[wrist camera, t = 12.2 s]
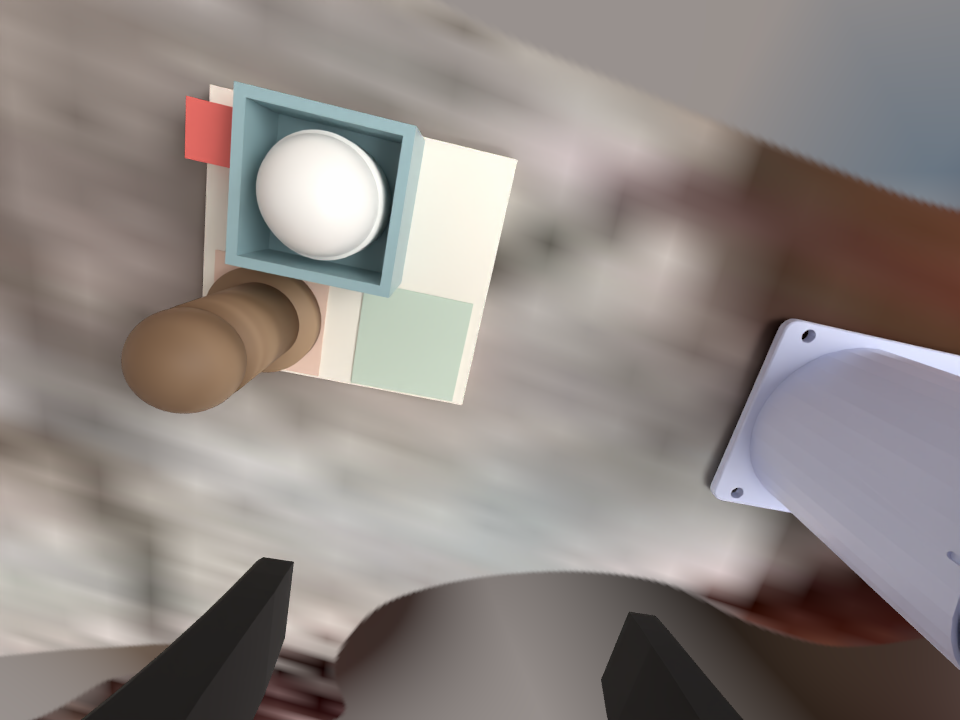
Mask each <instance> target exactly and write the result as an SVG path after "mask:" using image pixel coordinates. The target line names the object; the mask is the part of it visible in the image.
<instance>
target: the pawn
mask: <svg viewBox="0 0 960 720" xmlns="http://www.w3.org/2000/svg"><path fill="white" fill-rule="evenodd" d="M320 330H321V312H320V307H319V305H318V302H317V299H316V297H315V295H314V294H313V292H312V291H311V289H310V288H309V287H308V285H307V284H306V283H305V282H304V281H303V280H300V279H295V278H290V277H285V276H281V275H276V274H271V273H266V272H262V271H257V270H252V269H247V268H242V267H241V268H237V269H234V270H232V271H229V272H227V273H226V274H224V275H222V276H221V277H220V278H219V279H217V280H216V282H215V283H214V284H213V285H212V286H211V288H210V289H209V291H208V294H207V296H205V297H202V298H199V299H196V300H193V301H190V302H187V303H184V304H181V305H178V306H175V307H172V308H170V309H167V310H163V311H160V312H157V313H155V314H153V315H151V316H149V317H147V318H146V319H144V320H143V321H142V322H140V323H139V324H138V325H137V326H136V327H135V328H134V329H133V330H132V332H131V333H130V334H129V336H128V337H127V339H126V342H125V344H124V346H123V350H122V357H121V364H122V371H123V374H124V377H125V380H126V382H127V384H128V385H129V387H130V388H131V389H132V391H133V392H134V393H135V394H136V395H137V396H138V397H139V398H140V399H142V400H143V401H144V402H146V403H147V404H149V405H151V406H153V407H155V408H158V409H161V410H164V411H167V412H172V413H196V412H201V411H205V410H208V409H210V408H213V407H215V406H217V405H219V404H221V403H222V402H224V401H225V400H226V399H228V398H229V397H230V396H231V395H232V394H233V393H235V392H236V391H238V390H239V389H240V388H242V387H243V386H244V385H245V384H247V383H248V382H249V381H250V380H252V379H253V378H254V377H255V376H257V375H258V374H259V373H260V372H276V371H280V370H284V369H286V368H289V367H291V366H292V365H294V364H296V363H297V362H298V361H299V360H301V359H302V358H303V357H304V356H305V355H306V354H307V353H308V352H309V351H310V350H311V349H312V348H313V346H314V345H315V343H316V341H317V339H318V337H319V334H320Z"/></svg>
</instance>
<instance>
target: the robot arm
mask: <svg viewBox="0 0 960 720" xmlns="http://www.w3.org/2000/svg"><path fill="white" fill-rule="evenodd" d="M807 330H808V335H807V337H806V338H805V339H803V340H802V335H803V333H804V332H805V331H807ZM735 488H738V489H737V490H736V491H735V492H733V493H731V492H732V490H733V489H735ZM710 489H711V492H712V493H713V495H714V496H715V497H716V498H717V499H719V500H722V501H728V502H734V503H739V504H745V505H750V506H756V507H762V508H767V509H773V510H779V511H784V512H790V513H792V514H793V515H795V516H796V517H797V518H798V519H799V520H800V521H801V522H802V523H803V524H804V525H805V526H806V527H807V528H808V529H810V530H811V531H812V532H813V533H814V534H815V535H816V536H817V537H818V538H819V539H820V540H821V541H822V542H823V543H824V544H826V545H827V546H828V547H829V548H830V549H831V550H832V551H833V552H834V553H835V554H836V555H837V556H838V557H839V558H841V559H842V560H843V561H844V562H845V563H846V564H847V565H848V566H849V567H850V568H851V569H852V570H853V571H854V572H855V573H857V574H858V575H859V576H860V577H861V578H862V579H863V580H864V581H865V582H866V583H867V584H868V585H869V586H870V587H872V588H873V589H874V590H875V591H876V592H877V593H878V594H879V595H880V596H881V597H882V598H883V599H884V600H885V601H887V602H888V603H889V604H890V605H891V606H892V607H893V608H894V609H895V610H896V611H897V612H898V613H899V614H900V615H901V616H903V617H904V618H905V619H906V620H907V621H908V622H909V623H910V624H911V625H912V626H913V627H914V628H915V629H916V630H918V631H919V632H920V633H921V634H922V635H923V636H924V637H925V638H926V639H927V640H928V641H929V642H930V643H931V644H932V645H934V646H935V647H936V648H937V649H938V650H939V651H940V652H941V653H942V654H943V655H944V656H945V657H946V658H947V659H949V660H950V661H951V662H952V663H953V664H954V665H955V666H956V667H957V668H958V669H959V670H960V355H956V354H951V353H947V352H942V351H938V350H933V349H929V348H924V347H920V346H916V345H911V344H907V343H902V342H898V341H893V340H889V339H884V338H880V337H875V336H871V335H866V334H862V333H858V332H853V331H849V330H844V329H840V328H835V327H831V326H826V325H822V324H817V323H813V322H809V321H804V320H800V319H789V320H786V321H785V322H783V323H782V324H781V326H780V327H779V329H778V331H777V333H776V336H775V338H774V340H773V342H772V345H771V347H770V349H769V352H768V354H767V356H766V359H765V361H764V363H763V366H762V368H761V370H760V372H759V375H758V377H757V379H756V382H755V384H754V386H753V389H752V391H751V393H750V395H749V398H748V400H747V402H746V405H745V407H744V409H743V412H742V414H741V416H740V419H739V421H738V423H737V425H736V428H735V430H734V432H733V435H732V437H731V439H730V442H729V444H728V446H727V449H726V451H725V453H724V455H723V458H722V460H721V462H720V465H719V467H718V469H717V472H716V474H715V476H714V479H713V481H712V483H711V487H710ZM293 564H294V562H292V561H285V560H278V559H272V558H265V557H263V558H261V559H260V560H258V561H257V562H256V563H255V564H254V565H253V566H252V567H251V568H250V569H249V570H248V571H247V572H246V573H245V574H244V575H243V576H242V577H241V578H240V579H239V580H238V581H237V582H236V583H235V584H234V585H233V586H232V587H231V588H230V589H229V590H228V591H227V592H226V593H225V594H224V595H223V596H222V597H221V598H220V599H219V600H218V601H217V602H216V603H215V604H214V605H213V606H212V607H211V608H210V609H209V610H208V611H207V612H206V613H205V614H204V615H203V616H201V617H200V618H199V619H198V620H197V621H196V622H195V623H194V624H193V625H192V626H191V627H189V628H188V629H187V630H186V631H185V632H184V633H183V634H182V635H181V636H180V637H179V638H177V639H176V640H175V641H174V642H173V643H172V644H171V645H170V646H169V647H168V648H166V649H165V650H164V651H163V652H162V653H161V654H160V655H159V656H158V657H157V658H155V659H154V660H153V661H152V662H150V663H149V664H148V665H147V666H146V667H144V668H143V669H142V670H141V671H140V672H139V673H137V674H136V675H135V676H134V677H133V678H131V679H130V680H129V681H128V682H127V683H126V684H124V685H123V686H122V687H121V688H120V689H118V690H117V691H116V692H115V693H114V694H113V695H111V696H110V697H109V698H108V699H106V700H105V701H104V702H103V703H102V704H100V705H99V706H98V707H97V708H95V709H94V710H93V711H92V712H90V713H89V714H88V715H87V716H85V717H84V718H83V719H82V720H253V718H254V716H255V714H256V712H257V710H258V707H259V705H260V703H261V701H262V699H263V696H264V694H265V691H266V689H267V686H268V683H269V681H270V678H271V675H272V672H273V670H274V667H275V664H276V661H277V658H278V656H279V653H280V650H281V647H282V644H283V641H284V639H285V632H286V624H287V615H288V607H289V598H290V590H291V581H292V573H293ZM601 682H602V688H603V694H604V700H605V707H606V713H607V718H608V720H743V719H742V718H741V716H740V715H739V714H738V713H737V712H736V711H735V710H734V708H733V707H732V706H731V705H730V704H729V702H728V701H727V700H726V699H725V698H724V697H723V695H722V694H721V693H720V692H719V691H718V690H717V688H716V687H715V686H714V685H713V684H712V683H711V681H710V680H709V679H708V678H707V676H706V675H705V674H704V673H703V672H702V670H701V669H700V668H699V667H698V666H697V665H696V663H695V662H694V661H693V660H692V658H691V657H690V656H689V655H688V653H687V652H686V651H685V650H684V649H683V648H682V646H681V645H680V644H679V643H678V642H677V640H676V639H675V638H674V637H673V636H672V634H671V633H670V632H669V631H668V630H667V628H665V626H664V625H663V624H662V623H661V622H660V620H659V619H658V618H657V617H656V616H653V615H647V614H640V613H633V612H629V613H628V616H627V618H626V620H625V623H624V625H623V628H622V630H621V633H620V635H619V637H618V640H617V643H616V645H615V647H614V650H613V652H612V655H611V657H610V660H609V662H608V664H607V667H606V669H605V672H604V674H603V676H602V679H601Z"/></svg>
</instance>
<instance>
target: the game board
mask: <svg viewBox="0 0 960 720" xmlns="http://www.w3.org/2000/svg"><path fill="white" fill-rule="evenodd" d="M233 91H234V90H231V89H227V88H223V87H219V86H215V85H211V84H210V97H209V101H205V100H201V99H197V98H193V97H189V96H186V123H185V158H187V159H192V160H196V161H200V162H205V163H207V183H206V211H205V239H204V268H203V296H202V297H205V296H207V294H208V291H209V289H210V288H211V286H212V285H213V284H214V283H215V282H216V280H217V279H219V278H220V277H221V276H222V275H224V274H226V273H227V272H229V271H232V270H234V269H237V268H241V267H238V266H233V265H228V264H225V254H226V233H227V213H228V193H229V173H230V152H231V132H232V112H233ZM423 138H424V140H425V145H424V151H423V157H422V163H421V169H420V174H419V180H418V186H417V192H416V198H415V204H414V210H413V216H412V222H411V228H410V234H409V240H408V246H407V252H406V258H405V264H404V270H403V276H402V282H401V284H400V285H399V286H398V288H397V289H396V290H395V291H394V292H393V294H392V295H391V296H390V297H389V298H386V297H381V296H376V295H372V294H367V293H362V292H357V291H352V290H348V289H343V288H338V287H333V286H329V285H324V284H319V283H314V282H309V281H305V280H303V281H304V282H305V283H306V284H307V285H308V287H309V288H310V289H311V291H312V292H313V294H314V295H315V297H316V299H317V302H318V305H319V307H320V312H321V330H320V334H319V337H318V339H317V341H316V343H315V345H314V346H313V348H312V349H311V350H310V351H309V352H308V353H307V354H306V355H305V356H304V357H303V358H302V359H301V360H299V361H298V362H297V363H296V364H294V365H292V366H291V367H289V368H286V369H284V370H280V371H284V372H289V373H295V374H300V375H305V376H310V377H316V378H321V379H326V380H332V381H337V382H342V383H347V384H353V385H358V386H363V387H369V388H374V389H379V390H385V391H390V392H395V393H400V394H406V395H411V396H416V397H422V398H427V399H432V400H437V401H443V402H448V403H453V404H459V405H462V402H463V398H464V394H465V389H466V385H467V380H468V376H469V372H470V367H471V363H472V358H473V354H474V350H475V345H476V341H477V336H478V332H479V328H480V323H481V319H482V314H483V310H484V306H485V301H486V297H487V292H488V288H489V284H490V279H491V275H492V270H493V266H494V262H495V257H496V253H497V248H498V244H499V239H500V235H501V231H502V226H503V222H504V217H505V213H506V209H507V204H508V200H509V195H510V191H511V187H512V182H513V178H514V173H515V169H516V165H517V160H516V159H512V158H508V157H504V156H500V155H496V154H492V153H487V152H483V151H479V150H475V149H471V148H467V147H463V146H459V145H455V144H451V143H447V142H443V141H439V140H435V139H430V138H426V137H423Z"/></svg>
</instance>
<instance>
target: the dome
mask: <svg viewBox="0 0 960 720" xmlns="http://www.w3.org/2000/svg"><path fill="white" fill-rule="evenodd" d="M256 197H257V202H258V206H259V210H260V212H261V215H262V217H263V219H264V221H265V222H266V224H267V225H268V227H269V228H270V230H271V231H272V232H273V234H274V235H275V236H276V237H277V238H278V239H279V240H280V241H281V242H282V243H283V244H284V245H285V246H287V247H288V248H290V249H291V250H293V251H294V252H296V253H298V254H300V255H302V256H305V257H308V258H311V259H316V260H338V259H341V258H345V257H347V256H350V255H352V254H355V253H357V252H359V251H362V250H364V249H365V248H367V247H369V246H370V245H371V244H373V243H374V242H375V241H376V240H377V239H378V238H379V237H380V235H381V234H382V232H383V231H384V229H385V227H386V225H387V223H388V220H389V216H390V212H391V193H390V188H389V184H388V181H387V179H386V176H385V174H384V172H383V170H382V169H381V167H380V165H379V164H378V163H377V161H376V160H375V159H374V158H373V157H372V156H371V155H370V154H369V153H368V152H366V151H365V150H364V149H362V148H361V147H359V146H358V145H356V144H354V143H353V142H351V141H349V140H347V139H346V138H344V137H342V136H339V135H337V134H335V133H332V132H328V131H323V130H302V131H298V132H295V133H292V134H290V135H288V136H286V137H284V138H283V139H281V140H280V141H278V142H277V143H276V144H275V145H274V146H273V147H272V148H271V149H270V151H269V152H268V153H267V155H266V156H265V158H264V160H263V161H262V163H261V166H260V168H259V171H258V175H257V180H256Z"/></svg>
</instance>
